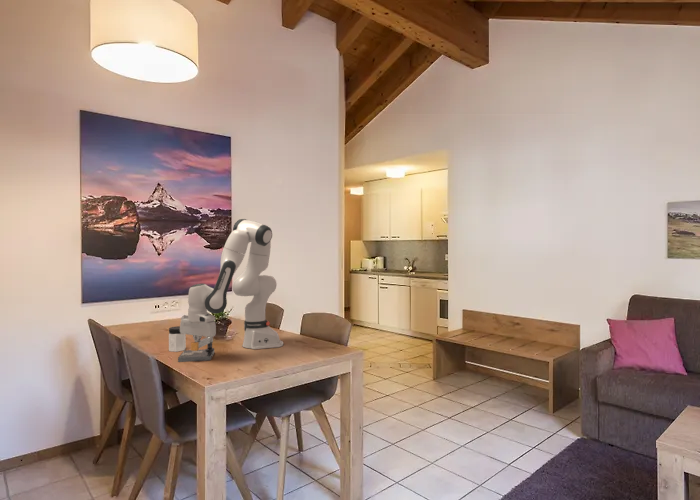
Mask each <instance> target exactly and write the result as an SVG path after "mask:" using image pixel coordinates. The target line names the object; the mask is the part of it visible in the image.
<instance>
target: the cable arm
mask: <svg viewBox="0 0 700 500" xmlns="http://www.w3.org/2000/svg"><path fill="white" fill-rule="evenodd" d="M209 343H212V344H213V343H214V336H213V337H204V338H201V340H200V341H197V342H195V341H192V342H190V350H191V351H198V350H200V349H201V348H202V347H205V346H207V344H209Z"/></svg>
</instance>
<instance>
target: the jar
mask: <svg viewBox="0 0 700 500" xmlns="http://www.w3.org/2000/svg"><path fill="white" fill-rule="evenodd" d="M186 335H187V334H181V333H180V325H179V326H177V325H176V326H170V327H169V328H168V352H174V353H177V352H183V351H184V350H187V349H186V348H187V347H186V346H187V344H186V342H187V341H186V339H187V337H186Z"/></svg>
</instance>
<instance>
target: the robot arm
mask: <svg viewBox="0 0 700 500" xmlns="http://www.w3.org/2000/svg"><path fill="white" fill-rule="evenodd" d="M272 238H273V231H272V228H271V227H269V225H266V224H263V223H260V222H257V221H254V220H249V219H246V218H241V219H238V220H236V221H235V223H234V224H233V227H232V230H231V232H230V234H229V236H228V237H227V239H226V241H225V244H224V246H223V249H222V252H221V256H220V270H219V274H218V277H217V280H216V282H215V285H214V288H213V287H211V286H208V285H207V284H206V283H196V284H193V285H192V286H190V287H189V289H188V297H187V299H188V300H187V301H188V302H187V303H188V310H187V312H188V313H187V314H186V315H185V314H184V315H182V316H181V317H180V323H179V324H180V325H179V326H180V333H181V334H186V335H190V336H192V338H193V340H194V342H197V341H200V340H202V339H203V337H204V338H207V337H213V338H214V337H215V336H216V334H217V326H216V316H215V315H213V314H219V313H222V312H224V310H225V309H226V307H227V306H228V299H227V294H228V291H229V287H230V285H231V283H232V287H231V288H232V291H233V293H234V294H235V295H236V296H240V297H252V300H251V301H249V303H247V304H246V305H245V308H244V322H243V327H244V328H243V329H244V336H243V343H242V347H243V348H246V349H250V350H251V349H252V350H261V349H272V348H273V349H274V348H281V347H283V346H284V341H283V340H281V339H280V335H279V334H278V332H277V331H276V330H274V329H273V328H272V327H270V324H271V323H270V321H269V320H268V319H266V308H267V303H268V301H269V299H270V297H271V295H272V294H273V293H275V291H276V289H277V284H278V283H277V280H276V279H275V278H274V276H271V275H266V274H263V275H261V273H262V272H264V271H266V270H267V269H268V267H269V262H270V255H271V246H272V245H271V244H272V243H271V241H272ZM249 244H250V247H249V253H248V259H247V263H246V266H245V268H244V270H243V271H242V273H241V274H240V275H239V276H238V277H237V278H235V279H234V281H233V282H231V281H232V279H233V277H234V275H235V273H236V272H237V270H238V269H239V267H240V266H241V264H242V262H243V261H244V258H245V256H246V253H247V249H248V246H249Z"/></svg>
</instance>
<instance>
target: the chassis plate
mask: <svg viewBox="0 0 700 500" xmlns="http://www.w3.org/2000/svg"><path fill="white" fill-rule="evenodd" d="M206 346H207V348H205V349H199V350H198V351H191V349H188V350H187V349H185V350H184V351H182V352H181V353H180V355H179V356H178V358H177V362H178V363H182V362H184V363H185V362H204V361H206V362H207V361H212V359H213V356H214V354H215V348H214V347H213V343H209V344H207V345H206Z"/></svg>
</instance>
